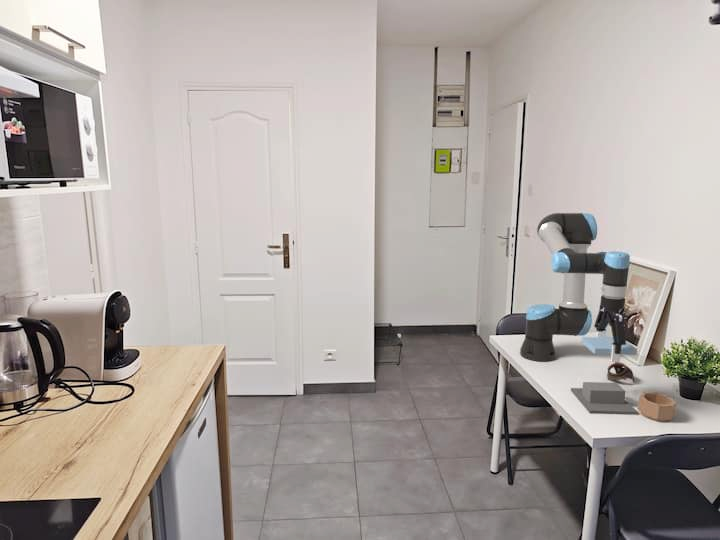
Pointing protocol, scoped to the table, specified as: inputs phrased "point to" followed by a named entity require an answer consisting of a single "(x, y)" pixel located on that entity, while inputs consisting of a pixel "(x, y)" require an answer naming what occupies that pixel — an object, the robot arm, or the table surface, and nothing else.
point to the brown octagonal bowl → (656, 406)
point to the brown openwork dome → (620, 372)
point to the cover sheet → (606, 346)
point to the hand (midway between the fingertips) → (607, 355)
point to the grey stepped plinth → (603, 398)
